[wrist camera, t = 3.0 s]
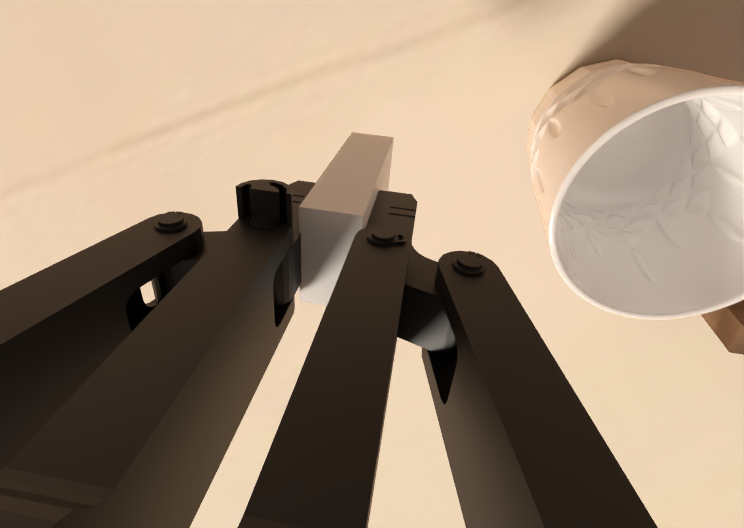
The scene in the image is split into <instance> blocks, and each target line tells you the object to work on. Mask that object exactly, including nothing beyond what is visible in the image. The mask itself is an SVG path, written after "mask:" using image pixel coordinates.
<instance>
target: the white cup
mask: <svg viewBox="0 0 744 528" xmlns="http://www.w3.org/2000/svg"><path fill="white" fill-rule="evenodd" d="M526 149H527V152H528V155H529V159H530V171H531V177H532V182H533V186H534V192H535V196H536V199H537V203H538V206H539V210H540V214H541V217H542V221H543V225H544V228H545V232H546V236H547V240H548V243H549V247H550V251H551V255H552V258H553V261H554V264H555V266H556V268H557V270H558V272H559V274H560V275H561V277H562V278H563V280H564V281H565V282H566V283H567V285H568V286H569V287H570V288H571V289H572V290H573V291H574V292H575V293H577V294H578V295H579V296H580V297H582V298H583V299H584V300H586V301H587V302H589V303H591V304H593V305H594V306H596V307H598V308H601V309H603V310H605V311H608V312H611V313H614V314H618V315H621V316H626V317H631V318H639V319H653V320H662V319H677V318H685V317H691V316H696V315H701V314H705V313H709V312H712V311H716V310H719V309H722V308H725V307H727V306H730V305H732V304H735V303H737V302H740V301H742V300H744V83H742V82H738V81H734V80H729V79H724V78H719V77H715V76H711V75H706V74H703V73H699V72H696V71H692V70H686V69H679V68H674V67H668V66H662V65H656V64H635V63H631V62H627V61H623V60H619V59H615V60H610V61H606V62H601V63H597V64H592V65H587V66H583V67H580V68H578V69H577V70H576V71H574V72H573V73H571V74H570V75H568V76H567V77H566V78H564V79H563V80H561V81H560V82H558V83H557V84H555V85H554V86H552V87H551V88H550V89H549V91H548V92H547V94H546V95H545V97H544V98H543V100H542V101H541V103H540V104H539V106H538V107H537V109H536V110H535V112H534V113H533V115H532V116H531V120H530V126H529V132H528V138H527V143H526Z"/></svg>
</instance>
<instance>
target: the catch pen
mask: <svg viewBox="0 0 744 528" xmlns="http://www.w3.org/2000/svg"><path fill="white" fill-rule="evenodd" d="M701 315H702V317H703V318H704V319H705V321H706V322H707V323H708V325H709V326H710V327H711V329H712V330H713V331H714V333H715V334H716V335H717V336H718V338H719V339H720V340H721V342H722V343H723V344H724V346H725V347H726V348H727V350H728V351H729V352H731V353H738V354H744V300H742V301H740V302H737V303H735V304H732V305H730V306H727V307H725V308H722V309H719V310H716V311H712V312H709V313H705V314H701Z"/></svg>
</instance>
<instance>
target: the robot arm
mask: <svg viewBox="0 0 744 528" xmlns="http://www.w3.org/2000/svg"><path fill="white" fill-rule="evenodd" d="M393 138H394V137H385V136H377V135H369V134H361V133H353V132H352V133H351V135H350V136H349V137H348V139H347V140H346V142H345V143H344V144H343V146H342V147H341V149H340V150H339V151H338V153H337V154H336V156H335V157H334V158H333V160H332V161H331V163H330V164H329V165H328V167H327V168H326V170H325V171H324V172H323V174H322V175H321V177H320V178H319V179H318V181H317V182H316V183H313V182H305V181H296V182H294V183H292V184H289V185H287V184H285V183H283V182H280V181H275V180H263V179H262V180H251V181H247V182H243V183H241V184H239V185H237V186H236V195H237V206H238V217H239V219H238V220H237V221H236V222H235V223H234V224H233V225H232V226H231V227H230V228H229V229H228V230H227V231H216V232H203V226H202V221H201V220H200V218H199V217H197V216H195V215H193V214H188V213H183V212H176V213H175V212H167V213H165V214H159V215H156V216H153V217H151V218H148V219H146V220H144V221H142V222H140V223H138V224H136V225H134V226H132V227H130V228H128V229H126V230H123V231H121V232H119V233H117V234H115V235H113V236H111V237H109V238H107V239H105V240H103V241H101V242H99V243H97V244H95V245H93V246H91V247H89V248H87V249H84V250H82V251H80V252H78V253H76V254H74V255H72V256H70V257H68V258H66V259H64V260H62V261H60V262H58V263H56V264H54V265H52V266H50V267H48V268H45V269H43V270H41V271H39V272H37V273H35V274H33V275H31V276H29V277H27V278H25V279H23V280H21V281H19V282H17V283H15V284H13V285H11V286H9V287H6V288H4V289H2V290H0V528H189V527H190V525H191V523H192V521H193V519H194V517H195V515H196V513H197V511H198V509H199V507H200V505H201V503H202V501H203V499H204V497H205V495H206V492H207V490H208V488H209V486H210V484H211V482H212V480H213V478H214V476H215V474H216V472H217V470H218V468H219V466H220V464H221V462H222V460H223V457H224V455H225V453H226V451H227V449H228V447H229V445H230V443H231V441H232V439H233V437H234V435H235V433H236V431H237V429H238V427H239V425H240V422H241V420H242V418H243V416H244V414H245V412H246V410H247V408H248V406H249V404H250V402H251V400H252V398H253V396H254V394H255V392H256V390H257V387H258V385H259V383H260V381H261V379H262V377H263V375H264V373H265V371H266V369H267V367H268V365H269V363H270V361H271V359H272V357H273V355H274V352H275V350H276V348H277V346H278V344H279V342H280V340H281V338H282V336H283V334H284V332H285V330H286V328H287V326H288V324H289V322H290V320H291V317H292V315H293V313H294V308H295V303H294V295H295V293H296V291H297V289H298V287H299V285H300V302H306V303H313V304H319V305H326V306H327V307H326V309H325V312H324V314H323V317H322V319H321V322H320V325H319V327H318V330H317V332H316V335H315V337H314V340H313V342H312V345H311V347H310V350H309V352H308V355H307V357H306V360H305V362H304V365H303V367H302V370H301V372H300V375H299V377H298V380H297V382H296V385H295V387H294V390H293V392H292V395H291V397H290V400H289V402H288V405H287V407H286V410H285V412H284V415H283V417H282V420H281V422H280V425H279V427H278V430H277V432H276V435H275V437H274V440H273V442H272V445H271V447H270V450H269V452H268V455H267V457H266V460H265V462H264V465H263V467H262V470H261V472H260V475H259V477H258V480H257V482H256V485H255V487H254V490H253V492H252V495H251V498H250V500H249V503H248V505H247V508H246V510H245V513H244V515H243V517H242V519H241V522H240V524H239V526H238V528H368V522H369V516H370V509H371V503H372V496H373V490H374V483H375V477H376V470H377V464H378V457H379V451H380V445H381V438H382V432H383V425H384V419H385V412H386V406H387V399H388V393H389V387H390V380H391V374H392V367H393V361H394V354H395V349H396V342H397V337H399V338H401V339H404V340H406V341H408V342H411V343H413V344H416V345H418V346H420V347H422V359H423V363H424V366H425V370H426V374H427V378H428V382H429V386H430V390H431V394H432V397H433V401H434V405H435V409H436V413H437V417H438V421H439V425H440V428H441V432H442V436H443V440H444V444H445V448H446V452H447V456H448V459H449V463H450V467H451V471H452V475H453V479H454V483H455V487H456V490H457V494H458V498H459V502H460V506H461V510H462V514H463V518H464V521H465V525H466V528H658V527H657V526H656V524H655V522H654V521H653V519H652V517H651V516H650V514H649V513H648V511H647V509H646V508H645V506H644V504H643V503H642V501H641V500H640V498H639V496H638V495H637V493H636V491H635V490H634V488H633V486H632V485H631V483H630V482H629V480H628V478H627V477H626V475H625V473H624V472H623V470H622V468H621V467H620V465H619V464H618V462H617V460H616V459H615V457H614V455H613V454H612V452H611V450H610V449H609V447H608V446H607V444H606V442H605V441H604V439H603V437H602V436H601V434H600V433H599V431H598V429H597V428H596V426H595V424H594V423H593V421H592V419H591V418H590V416H589V415H588V413H587V411H586V410H585V408H584V406H583V405H582V403H581V401H580V400H579V398H578V397H577V395H576V393H575V392H574V390H573V388H572V387H571V385H570V384H569V382H568V380H567V379H566V377H565V375H564V374H563V372H562V370H561V369H560V367H559V366H558V364H557V362H556V361H555V359H554V357H553V356H552V354H551V352H550V351H549V349H548V348H547V346H546V344H545V343H544V341H543V339H542V338H541V336H540V334H539V333H538V331H537V330H536V328H535V326H534V325H533V323H532V321H531V320H530V318H529V317H528V315H527V313H526V312H525V310H524V308H523V307H522V305H521V303H520V302H519V300H518V299H517V297H516V295H515V294H514V292H513V290H512V289H511V287H510V285H509V284H508V282H507V281H506V279H505V277H504V276H503V274H502V272H501V271H500V269H499V268H498V266H497V265H496V264H495V263H494V262H493V261H492V260H490V259H488V258H486V257H485V256H483V255H481V254H478V253H477V254H476V253H475V252H471V251H468V252H466V251H454V252H449V253H446V254H444V255H442V257H441V258H440V259H439V262H436V261H433V260H431V259H428V258H426V257H424V256H422V255H421V254H419V253H418V252H417V251H416V250H415V249H414V248H413V246H412V235H413V228H414V221H415V214H416V208H417V201H416V200H415V198H414V197H413V196H412V194H405V193H397V192H390V191H388V185H389V176H390V166H391V157H392V147H393ZM149 281H152V286H153V290H154V295H155V299H154V300H153V301H151V302H150V303H147V304H145V303H144V301H143V298H142V294H141V290H140V287H141V286H143V285H144V284H146V283H147V282H149Z"/></svg>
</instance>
